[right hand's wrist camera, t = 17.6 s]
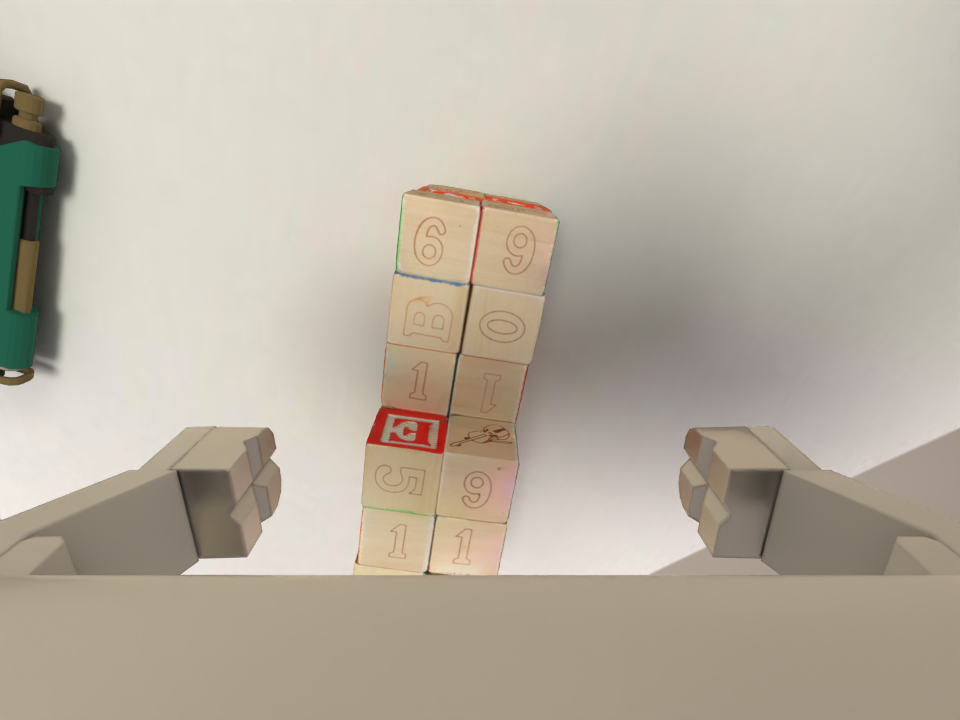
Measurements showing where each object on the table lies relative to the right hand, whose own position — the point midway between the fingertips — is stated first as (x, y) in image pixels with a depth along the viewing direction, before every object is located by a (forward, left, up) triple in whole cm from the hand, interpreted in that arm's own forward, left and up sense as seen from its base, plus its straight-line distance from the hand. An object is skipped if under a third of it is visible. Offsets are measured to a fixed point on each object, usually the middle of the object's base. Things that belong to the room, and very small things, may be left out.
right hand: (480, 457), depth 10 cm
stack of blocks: (-1, +7, -20) cm, 22 cm away
